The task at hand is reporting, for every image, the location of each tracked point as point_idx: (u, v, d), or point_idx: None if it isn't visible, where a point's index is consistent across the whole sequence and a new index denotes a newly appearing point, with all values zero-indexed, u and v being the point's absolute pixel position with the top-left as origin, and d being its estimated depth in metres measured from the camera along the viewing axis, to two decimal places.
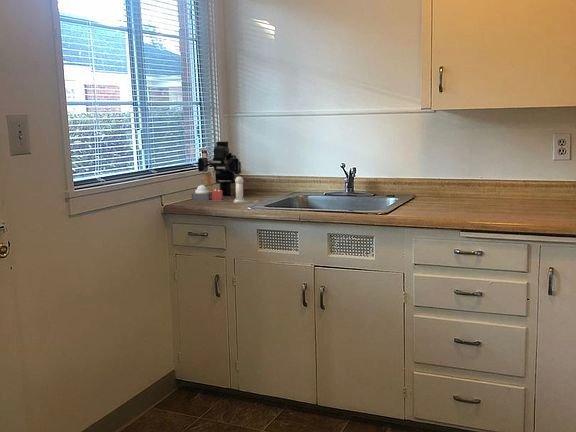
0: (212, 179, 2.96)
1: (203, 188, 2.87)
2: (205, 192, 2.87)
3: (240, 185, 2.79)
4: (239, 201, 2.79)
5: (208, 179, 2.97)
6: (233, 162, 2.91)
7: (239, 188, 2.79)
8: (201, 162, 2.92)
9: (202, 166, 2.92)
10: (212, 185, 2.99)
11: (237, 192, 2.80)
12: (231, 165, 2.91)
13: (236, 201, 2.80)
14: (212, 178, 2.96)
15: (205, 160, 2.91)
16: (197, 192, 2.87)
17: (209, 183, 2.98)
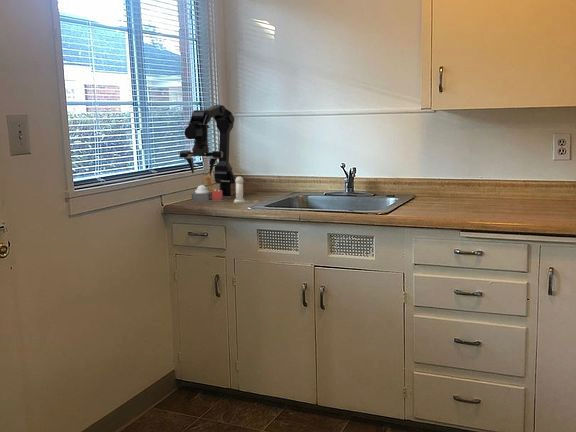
0: (212, 179, 2.96)
1: (203, 188, 2.87)
2: (205, 192, 2.87)
3: (240, 185, 2.79)
4: (239, 201, 2.79)
5: (208, 179, 2.97)
6: (215, 159, 2.85)
7: (239, 188, 2.79)
8: None
9: None
10: (212, 185, 2.99)
11: (237, 192, 2.80)
12: None
13: (236, 201, 2.80)
14: (212, 178, 2.96)
15: (189, 160, 2.85)
16: (197, 192, 2.87)
17: (209, 183, 2.98)
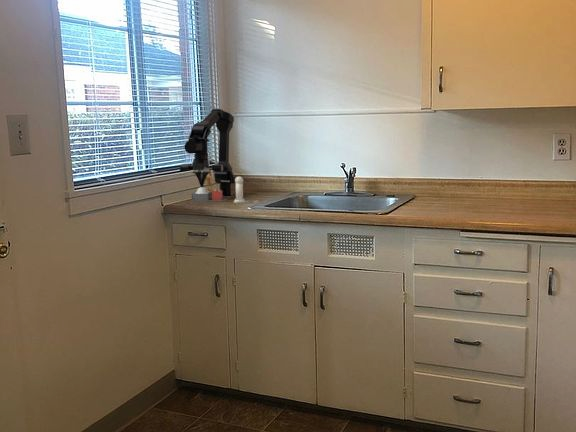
0: (212, 179, 2.96)
1: (203, 190, 2.87)
2: None
3: (240, 185, 2.79)
4: (239, 201, 2.79)
5: (208, 179, 2.97)
6: (207, 173, 2.86)
7: (239, 188, 2.79)
8: (194, 172, 2.87)
9: None
10: (212, 185, 2.99)
11: (237, 192, 2.80)
12: None
13: (236, 201, 2.80)
14: (212, 178, 2.96)
15: (198, 174, 2.86)
16: None
17: (209, 183, 2.98)
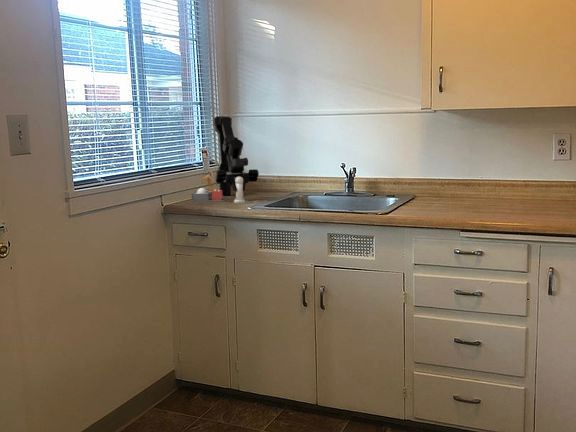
0: (212, 179, 2.96)
1: (203, 191, 2.87)
2: None
3: (240, 185, 2.79)
4: (239, 201, 2.79)
5: (208, 179, 2.97)
6: (247, 177, 2.83)
7: (239, 188, 2.79)
8: (227, 177, 2.81)
9: (228, 180, 2.83)
10: (212, 185, 2.99)
11: (237, 192, 2.80)
12: None
13: (236, 201, 2.80)
14: (212, 178, 2.96)
15: (232, 177, 2.80)
16: None
17: (209, 183, 2.98)
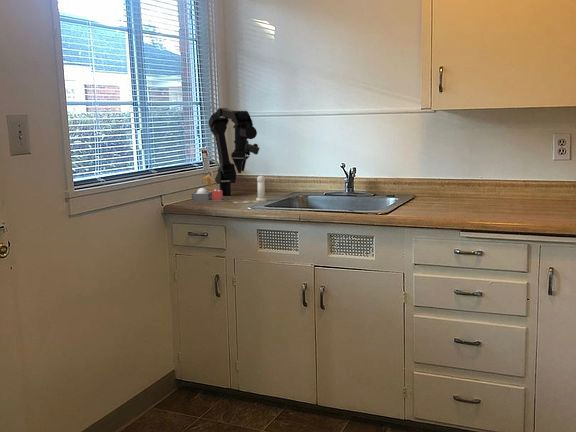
0: (212, 179, 2.96)
1: (203, 191, 2.87)
2: None
3: (263, 184, 2.84)
4: (263, 200, 2.84)
5: (208, 179, 2.97)
6: (246, 157, 3.02)
7: (262, 187, 2.84)
8: None
9: None
10: (212, 185, 2.99)
11: (260, 191, 2.84)
12: None
13: (259, 200, 2.84)
14: (212, 178, 2.96)
15: (243, 160, 2.90)
16: None
17: (209, 183, 2.98)
